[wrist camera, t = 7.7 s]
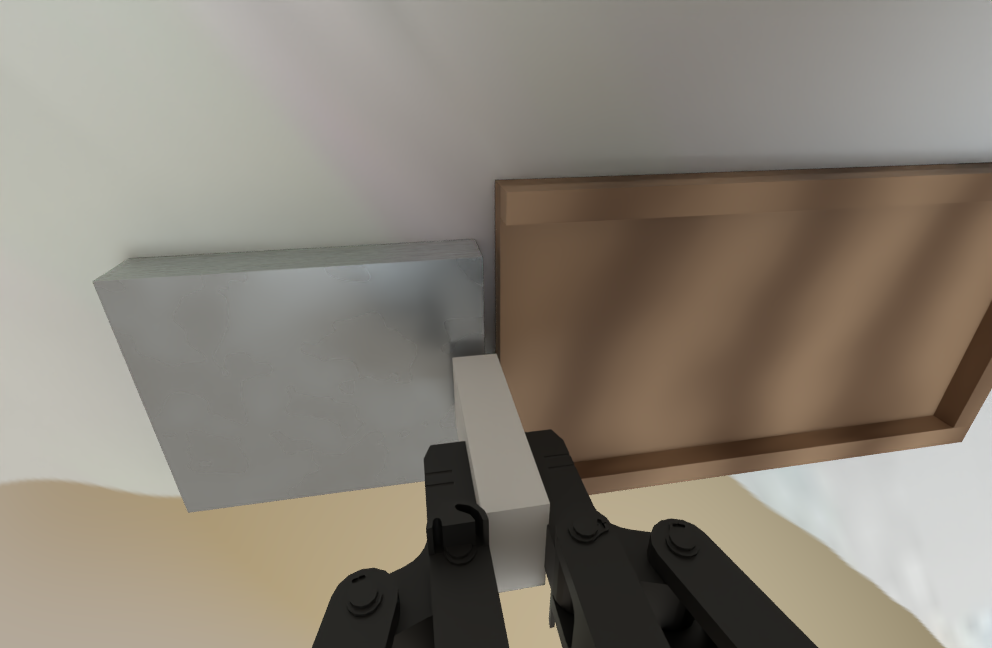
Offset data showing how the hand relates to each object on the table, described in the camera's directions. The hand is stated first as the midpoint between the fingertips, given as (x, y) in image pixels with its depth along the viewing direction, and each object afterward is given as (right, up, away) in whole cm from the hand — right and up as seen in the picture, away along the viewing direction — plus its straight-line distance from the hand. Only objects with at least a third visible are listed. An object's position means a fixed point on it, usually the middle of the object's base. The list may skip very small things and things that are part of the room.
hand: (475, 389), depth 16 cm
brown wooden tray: (+11, +2, +4) cm, 12 cm away
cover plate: (-6, +1, +2) cm, 6 cm away
